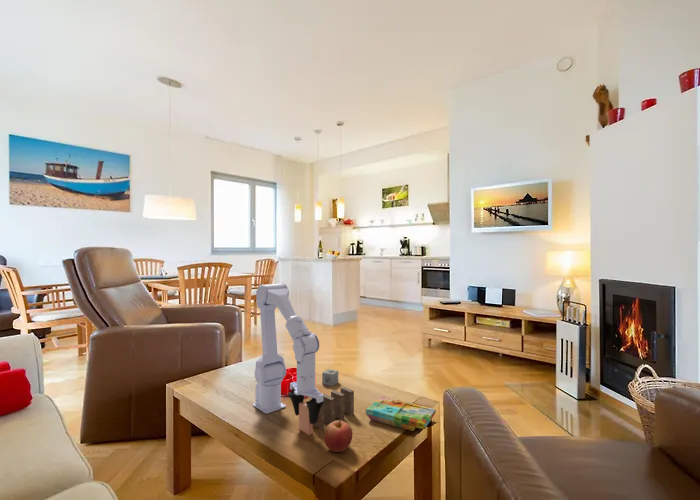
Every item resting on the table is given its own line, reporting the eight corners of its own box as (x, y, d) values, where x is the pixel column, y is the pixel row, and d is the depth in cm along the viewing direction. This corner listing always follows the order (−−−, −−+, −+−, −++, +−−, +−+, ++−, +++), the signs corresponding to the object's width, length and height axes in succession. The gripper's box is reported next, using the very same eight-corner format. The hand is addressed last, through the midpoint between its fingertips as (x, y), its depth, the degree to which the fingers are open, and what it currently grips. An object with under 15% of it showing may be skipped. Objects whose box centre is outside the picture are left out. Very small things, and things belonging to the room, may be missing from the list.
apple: (355, 442, 99) (355, 415, 99) (348, 458, 91) (348, 428, 91) (329, 439, 101) (329, 412, 101) (320, 454, 93) (320, 425, 93)
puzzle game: (380, 394, 123) (435, 406, 113) (380, 407, 123) (435, 421, 113) (365, 406, 113) (424, 421, 103) (365, 421, 113) (424, 437, 103)
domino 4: (340, 420, 113) (340, 395, 113) (330, 415, 116) (330, 391, 116) (344, 418, 114) (344, 394, 114) (334, 413, 117) (334, 390, 117)
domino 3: (330, 424, 109) (330, 399, 110) (320, 419, 113) (320, 395, 113) (334, 423, 111) (334, 398, 111) (324, 417, 114) (324, 393, 114)
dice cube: (332, 386, 141) (332, 374, 141) (322, 384, 143) (322, 372, 143) (338, 382, 146) (338, 370, 146) (328, 380, 148) (328, 369, 148)
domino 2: (320, 429, 106) (320, 404, 106) (310, 424, 110) (310, 399, 110) (324, 428, 108) (324, 402, 108) (314, 422, 111) (314, 397, 111)
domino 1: (308, 435, 103) (308, 408, 103) (298, 429, 107) (299, 403, 107) (312, 433, 104) (312, 406, 105) (303, 427, 108) (303, 401, 108)
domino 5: (350, 415, 116) (350, 392, 116) (340, 410, 119) (340, 387, 119) (353, 414, 117) (353, 390, 117) (343, 409, 120) (343, 386, 120)
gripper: (282, 371, 108) (281, 414, 108) (310, 384, 98) (310, 432, 98) (300, 366, 113) (300, 407, 113) (328, 378, 103) (328, 423, 103)
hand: (305, 418), depth 106 cm, fingers open, 7 cm apart
